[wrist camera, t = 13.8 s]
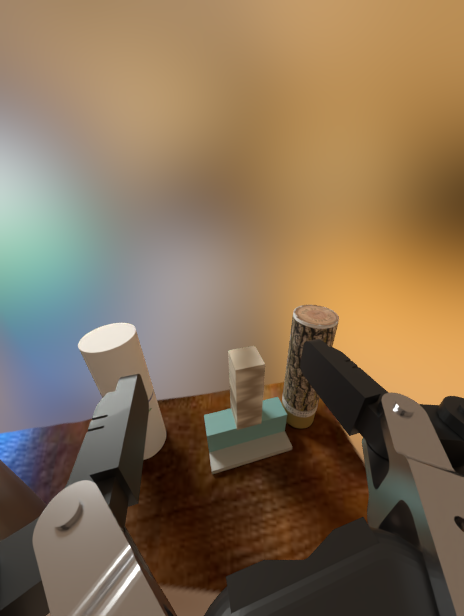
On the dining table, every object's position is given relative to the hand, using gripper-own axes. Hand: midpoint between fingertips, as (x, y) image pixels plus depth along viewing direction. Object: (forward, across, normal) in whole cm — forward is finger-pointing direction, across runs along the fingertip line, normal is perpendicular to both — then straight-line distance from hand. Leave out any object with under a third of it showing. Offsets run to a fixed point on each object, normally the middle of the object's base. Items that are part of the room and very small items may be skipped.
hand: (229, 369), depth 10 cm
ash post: (+16, -6, +28) cm, 33 cm away
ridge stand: (+16, -6, +34) cm, 38 cm away
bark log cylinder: (+17, -18, +34) cm, 42 cm away
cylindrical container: (+20, +13, +34) cm, 42 cm away
